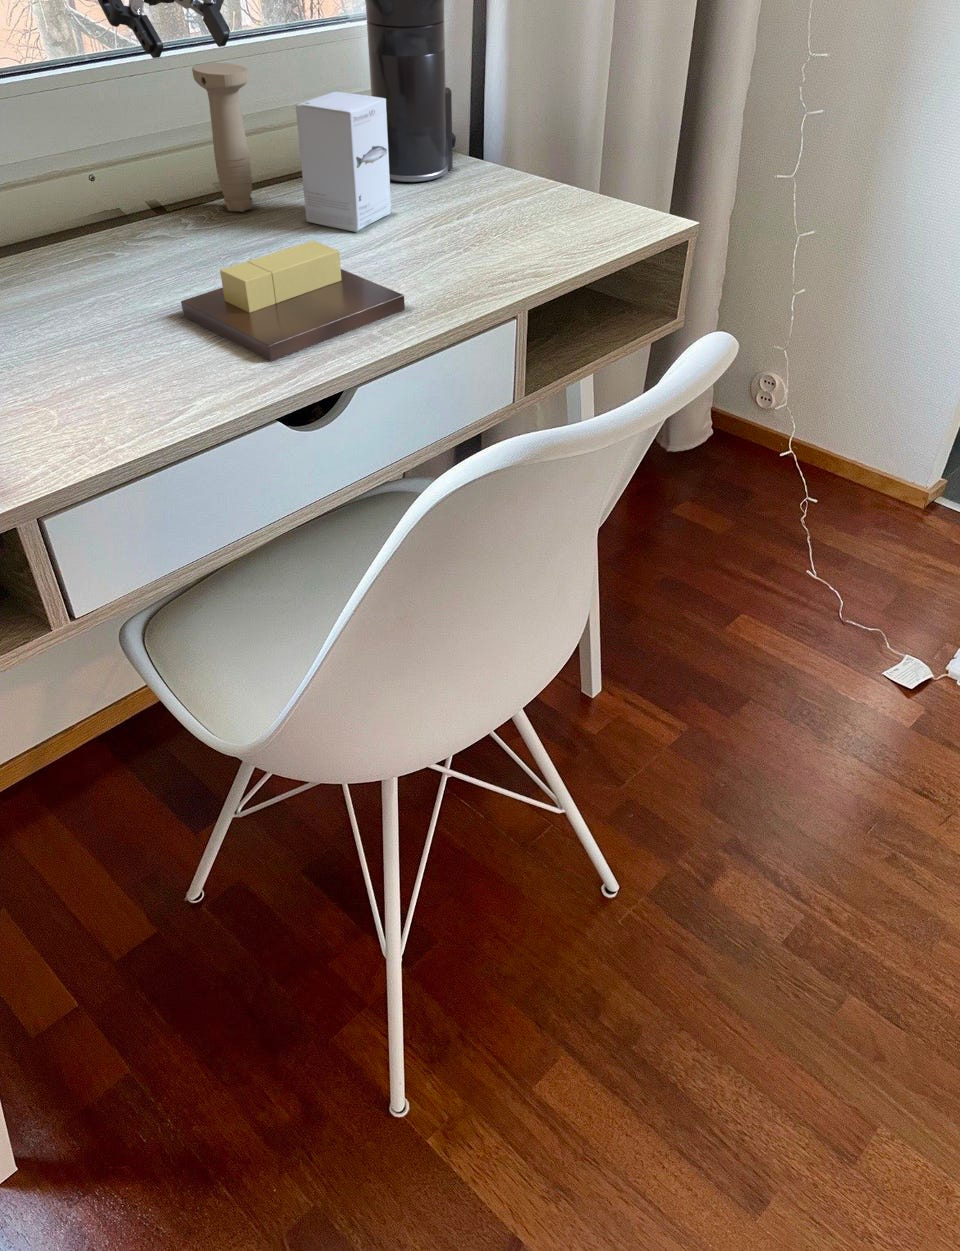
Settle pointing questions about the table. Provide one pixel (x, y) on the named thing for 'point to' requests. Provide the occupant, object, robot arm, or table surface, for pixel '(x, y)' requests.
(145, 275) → the table surface
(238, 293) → the butter pat
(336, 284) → the board
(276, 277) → the butter stick
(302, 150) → the white packaging box
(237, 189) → the handle
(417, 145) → the robot arm
